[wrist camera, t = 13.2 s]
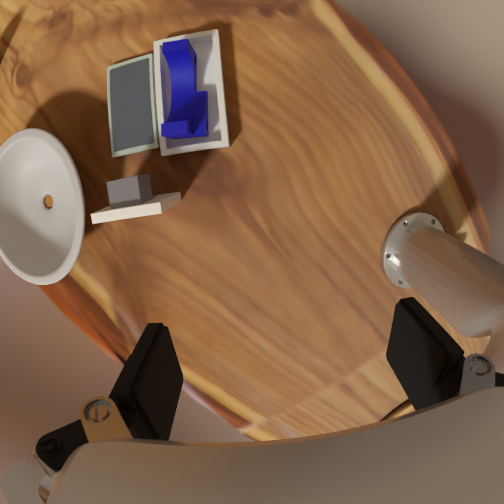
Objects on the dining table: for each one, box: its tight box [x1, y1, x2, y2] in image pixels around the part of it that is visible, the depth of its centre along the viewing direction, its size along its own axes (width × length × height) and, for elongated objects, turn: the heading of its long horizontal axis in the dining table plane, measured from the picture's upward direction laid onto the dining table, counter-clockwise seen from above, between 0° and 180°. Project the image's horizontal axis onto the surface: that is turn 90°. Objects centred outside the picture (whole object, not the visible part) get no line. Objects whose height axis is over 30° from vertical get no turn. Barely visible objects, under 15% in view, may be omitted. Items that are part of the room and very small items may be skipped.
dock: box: [154, 29, 230, 156], centre depth 31 cm, size 9×17×2 cm, turn 5°
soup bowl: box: [0, 128, 85, 285], centre depth 33 cm, size 24×24×7 cm
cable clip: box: [161, 39, 209, 139], centre depth 29 cm, size 12×4×6 cm, turn 1°
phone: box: [107, 54, 160, 158], centre depth 31 cm, size 7×14×1 cm, turn 5°
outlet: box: [91, 173, 181, 224], centre depth 32 cm, size 9×4×9 cm, turn 95°
